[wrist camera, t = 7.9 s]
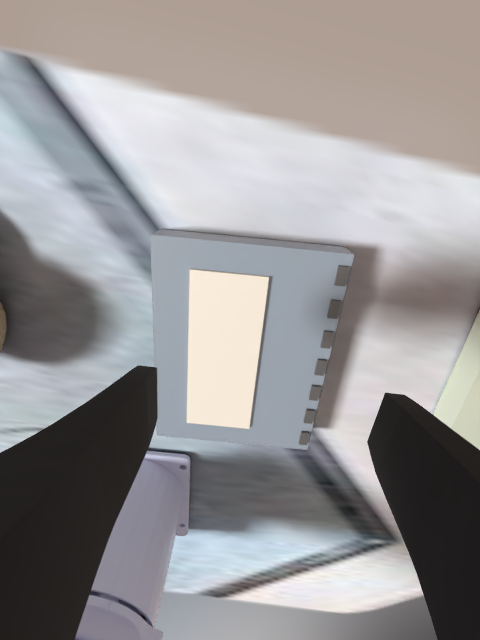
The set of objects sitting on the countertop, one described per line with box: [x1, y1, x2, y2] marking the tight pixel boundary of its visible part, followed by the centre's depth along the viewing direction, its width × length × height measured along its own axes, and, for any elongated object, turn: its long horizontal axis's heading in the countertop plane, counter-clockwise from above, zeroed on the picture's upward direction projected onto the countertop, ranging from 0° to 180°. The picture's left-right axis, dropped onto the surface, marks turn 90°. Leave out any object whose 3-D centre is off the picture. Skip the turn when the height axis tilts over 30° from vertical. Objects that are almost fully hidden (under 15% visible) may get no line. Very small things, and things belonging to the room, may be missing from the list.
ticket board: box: [150, 229, 354, 450], centre depth 18 cm, size 13×10×2 cm
